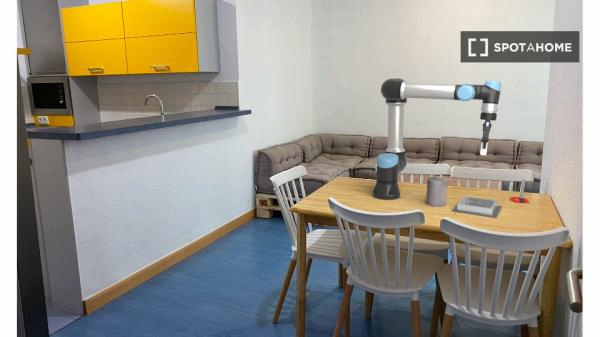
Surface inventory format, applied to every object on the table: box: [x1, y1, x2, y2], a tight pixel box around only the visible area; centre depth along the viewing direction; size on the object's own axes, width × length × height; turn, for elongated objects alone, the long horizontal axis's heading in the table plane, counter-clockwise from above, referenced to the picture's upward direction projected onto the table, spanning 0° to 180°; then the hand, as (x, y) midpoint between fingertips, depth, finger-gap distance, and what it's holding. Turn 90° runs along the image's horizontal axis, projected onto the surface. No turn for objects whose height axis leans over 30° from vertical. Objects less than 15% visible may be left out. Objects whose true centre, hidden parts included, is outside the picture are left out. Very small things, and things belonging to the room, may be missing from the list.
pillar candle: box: [425, 176, 448, 208], centre depth 212 cm, size 10×10×15 cm
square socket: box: [451, 195, 503, 219], centre depth 203 cm, size 20×18×4 cm
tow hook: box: [509, 178, 530, 204], centre depth 216 cm, size 8×13×9 cm
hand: (482, 153), depth 210 cm, fingers open, 13 cm apart
